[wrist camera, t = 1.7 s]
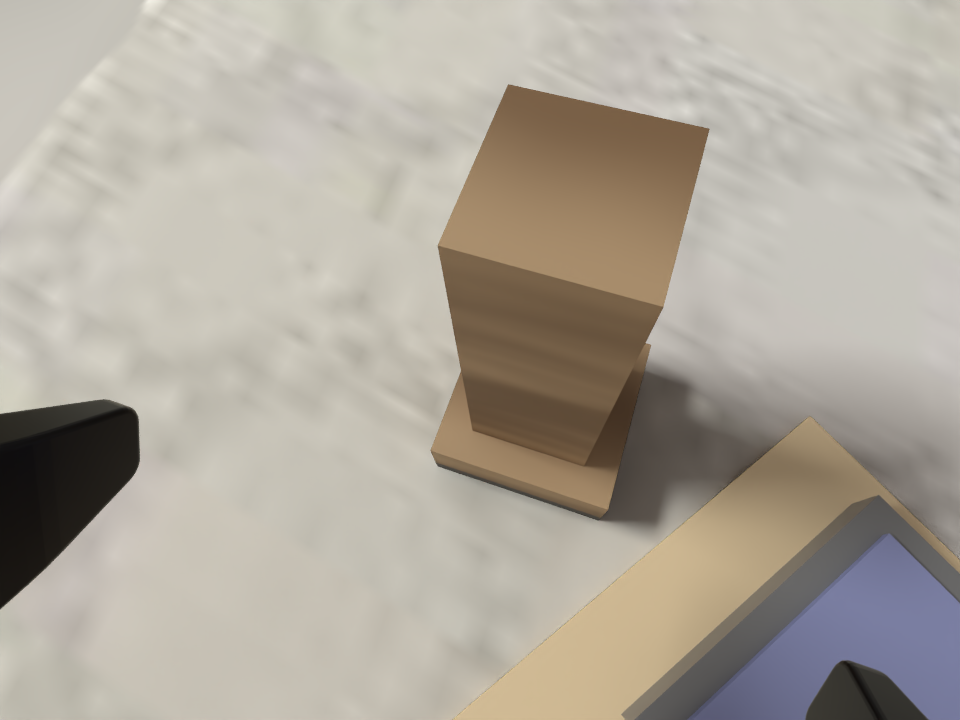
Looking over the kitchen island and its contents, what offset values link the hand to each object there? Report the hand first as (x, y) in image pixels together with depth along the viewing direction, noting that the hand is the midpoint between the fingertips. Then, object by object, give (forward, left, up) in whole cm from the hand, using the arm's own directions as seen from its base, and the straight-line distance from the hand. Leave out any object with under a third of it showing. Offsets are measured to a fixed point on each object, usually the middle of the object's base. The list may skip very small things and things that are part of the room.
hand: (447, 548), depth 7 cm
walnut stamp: (+5, +3, -12) cm, 14 cm away
